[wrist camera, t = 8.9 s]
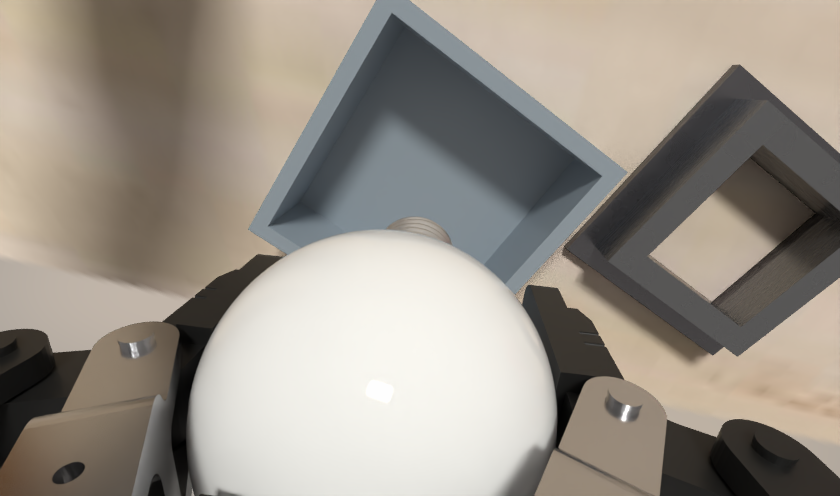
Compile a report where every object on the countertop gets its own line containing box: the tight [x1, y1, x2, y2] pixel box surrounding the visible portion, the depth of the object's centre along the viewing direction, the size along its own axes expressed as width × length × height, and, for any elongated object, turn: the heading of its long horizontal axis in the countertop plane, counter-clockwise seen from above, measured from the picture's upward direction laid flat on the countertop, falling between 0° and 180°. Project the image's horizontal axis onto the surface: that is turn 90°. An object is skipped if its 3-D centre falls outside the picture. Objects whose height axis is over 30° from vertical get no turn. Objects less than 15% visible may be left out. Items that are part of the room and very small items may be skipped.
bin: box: [248, 0, 628, 295], centre depth 23 cm, size 14×14×6 cm
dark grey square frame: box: [565, 65, 840, 357], centre depth 24 cm, size 13×13×3 cm
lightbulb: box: [186, 217, 558, 496], centre depth 10 cm, size 6×6×11 cm
